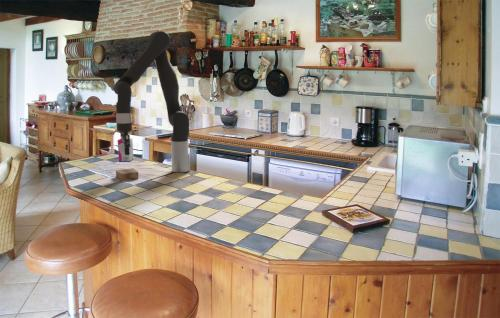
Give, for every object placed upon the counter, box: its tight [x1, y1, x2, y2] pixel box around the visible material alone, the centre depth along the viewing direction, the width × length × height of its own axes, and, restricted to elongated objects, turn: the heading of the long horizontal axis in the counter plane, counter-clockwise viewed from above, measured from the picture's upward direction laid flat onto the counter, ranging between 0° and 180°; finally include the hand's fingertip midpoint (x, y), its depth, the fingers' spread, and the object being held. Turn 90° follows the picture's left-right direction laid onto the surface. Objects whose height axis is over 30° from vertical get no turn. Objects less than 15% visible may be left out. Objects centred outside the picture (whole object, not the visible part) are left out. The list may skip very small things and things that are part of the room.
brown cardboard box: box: [115, 168, 139, 182], centre depth 213 cm, size 9×9×4 cm
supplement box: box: [117, 138, 134, 163], centre depth 210 cm, size 6×6×12 cm
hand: (125, 153), depth 210 cm, fingers closed on supplement box, 7 cm apart
